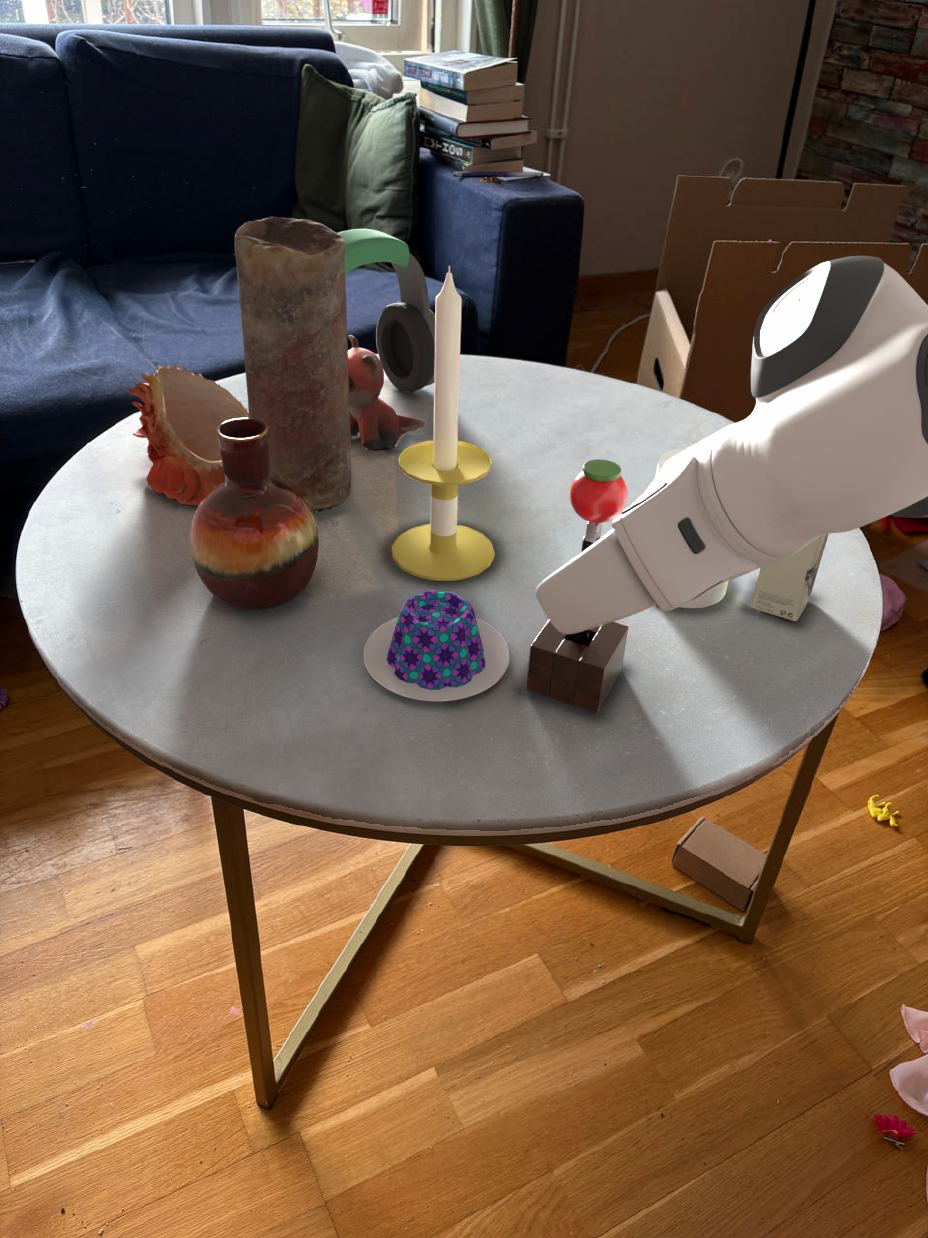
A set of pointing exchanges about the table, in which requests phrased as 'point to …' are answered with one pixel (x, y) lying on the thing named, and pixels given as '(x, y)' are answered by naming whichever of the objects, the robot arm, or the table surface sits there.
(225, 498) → the vase
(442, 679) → the pudding
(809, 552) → the box
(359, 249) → the headphones
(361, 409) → the stuffed fox
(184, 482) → the seashell
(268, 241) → the brown textured cylinder
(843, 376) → the robot arm
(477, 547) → the candle
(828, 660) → the table surface
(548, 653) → the block
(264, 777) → the table surface
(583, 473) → the joystick
